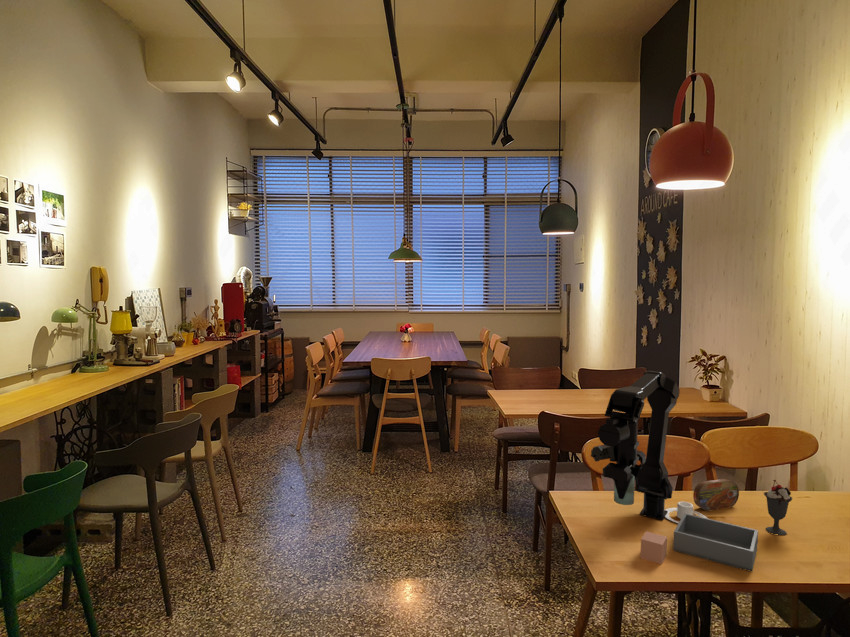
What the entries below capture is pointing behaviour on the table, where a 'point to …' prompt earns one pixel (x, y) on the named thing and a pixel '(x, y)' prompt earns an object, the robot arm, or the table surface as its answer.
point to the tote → (716, 541)
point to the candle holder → (683, 511)
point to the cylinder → (628, 496)
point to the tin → (716, 494)
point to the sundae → (777, 506)
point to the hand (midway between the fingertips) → (624, 495)
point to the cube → (653, 547)
